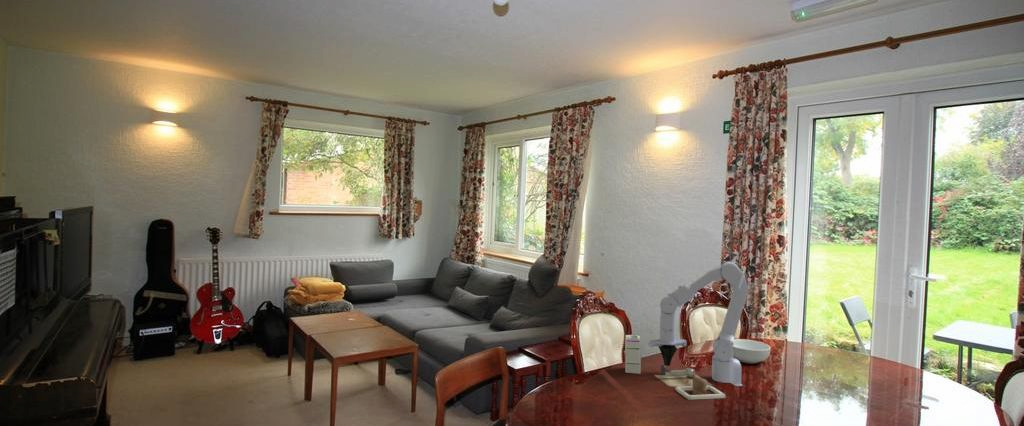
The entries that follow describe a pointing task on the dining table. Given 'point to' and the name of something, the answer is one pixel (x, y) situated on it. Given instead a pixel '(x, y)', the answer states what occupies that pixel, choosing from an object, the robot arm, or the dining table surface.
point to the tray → (707, 396)
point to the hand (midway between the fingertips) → (667, 365)
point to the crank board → (678, 380)
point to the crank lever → (677, 372)
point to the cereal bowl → (750, 351)
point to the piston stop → (699, 386)
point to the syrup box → (632, 354)
